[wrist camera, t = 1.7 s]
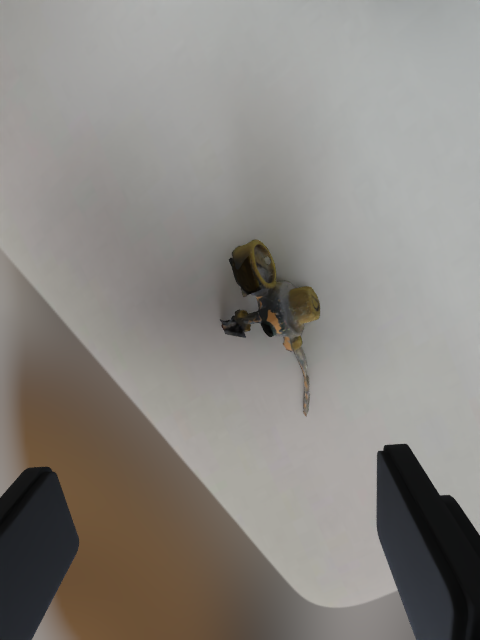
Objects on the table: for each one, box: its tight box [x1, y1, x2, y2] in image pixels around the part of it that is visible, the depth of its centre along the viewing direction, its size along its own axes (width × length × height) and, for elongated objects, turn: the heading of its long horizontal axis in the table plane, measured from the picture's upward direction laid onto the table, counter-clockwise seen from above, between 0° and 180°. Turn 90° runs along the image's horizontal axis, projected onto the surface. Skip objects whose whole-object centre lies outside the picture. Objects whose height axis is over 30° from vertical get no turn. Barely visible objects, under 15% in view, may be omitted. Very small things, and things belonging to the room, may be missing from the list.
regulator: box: [220, 240, 320, 416], centre depth 25 cm, size 8×4×15 cm
